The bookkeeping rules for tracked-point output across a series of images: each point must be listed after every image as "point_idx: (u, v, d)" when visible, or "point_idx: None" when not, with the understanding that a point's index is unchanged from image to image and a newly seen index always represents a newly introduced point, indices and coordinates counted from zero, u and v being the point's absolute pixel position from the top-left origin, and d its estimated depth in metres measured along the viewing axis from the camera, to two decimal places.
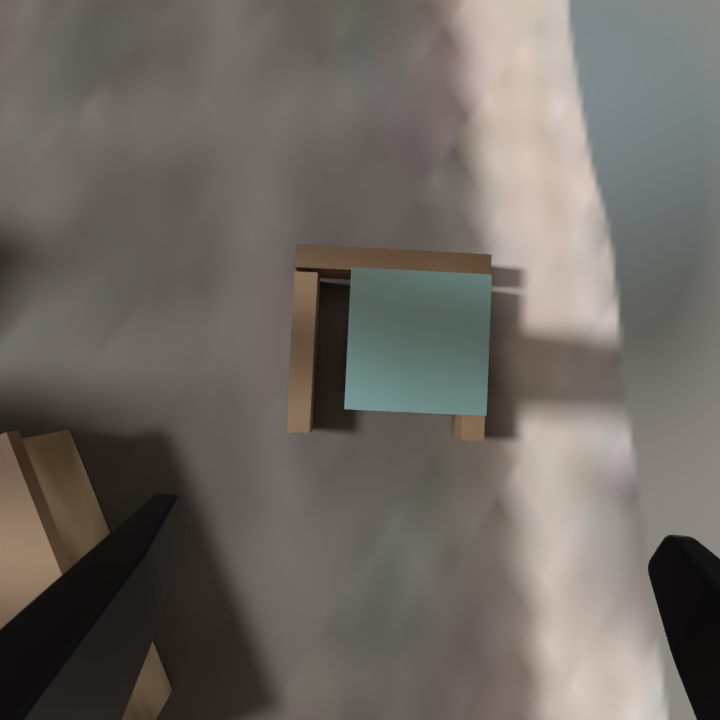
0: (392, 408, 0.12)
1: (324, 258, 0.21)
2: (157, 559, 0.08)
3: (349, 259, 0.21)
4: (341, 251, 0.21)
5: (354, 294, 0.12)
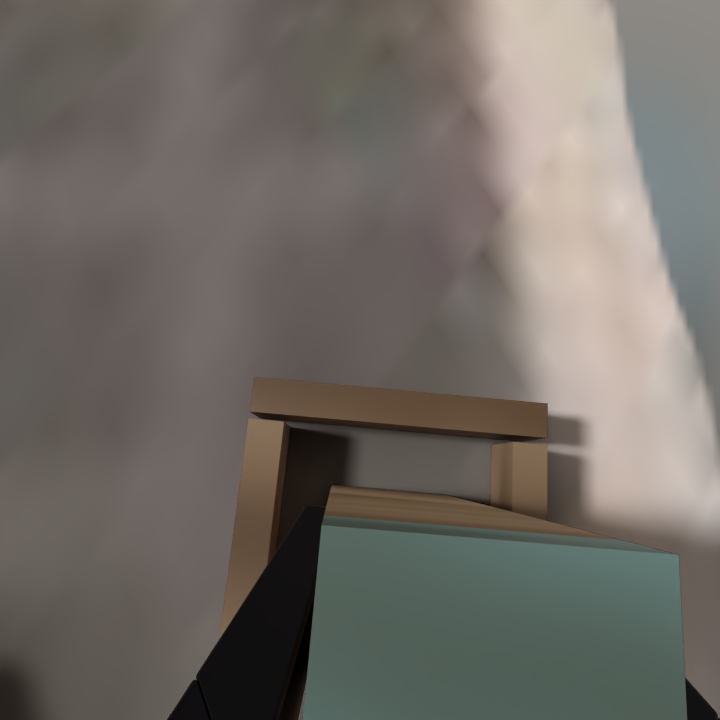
0: None
1: (295, 400, 0.14)
2: None
3: (333, 403, 0.14)
4: (322, 390, 0.14)
5: (326, 603, 0.05)
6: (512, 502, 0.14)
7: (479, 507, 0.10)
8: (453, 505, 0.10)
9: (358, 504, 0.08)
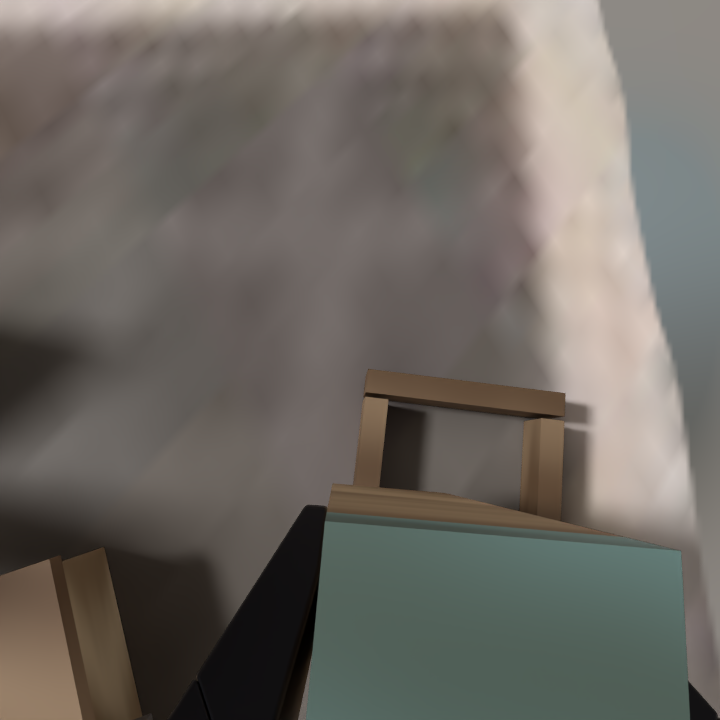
0: None
1: (396, 385, 0.21)
2: None
3: (421, 388, 0.21)
4: (413, 379, 0.21)
5: (329, 599, 0.05)
6: (539, 458, 0.21)
7: (481, 505, 0.10)
8: (455, 503, 0.10)
9: (360, 501, 0.08)
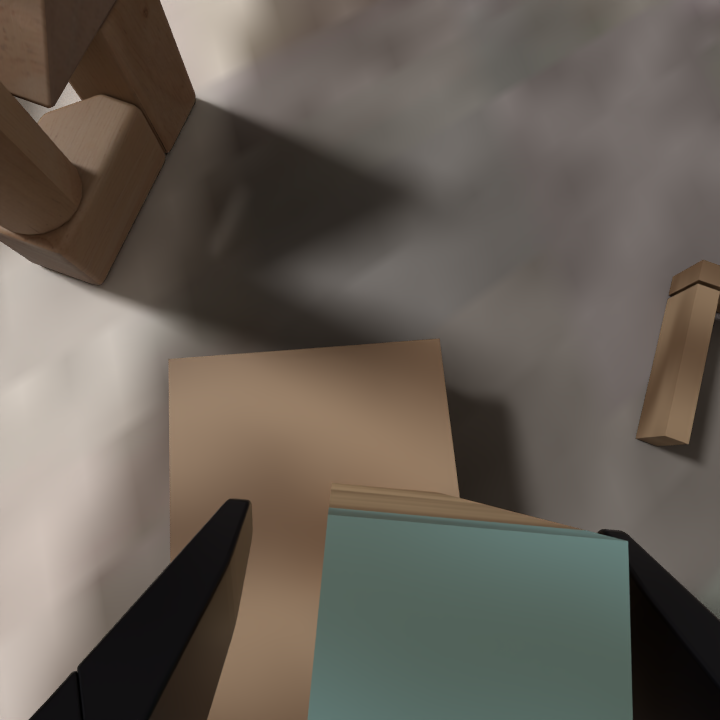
0: None
1: None
2: (236, 565, 0.08)
3: None
4: None
5: (331, 579, 0.06)
6: None
7: (468, 503, 0.11)
8: (444, 501, 0.11)
9: (357, 499, 0.09)
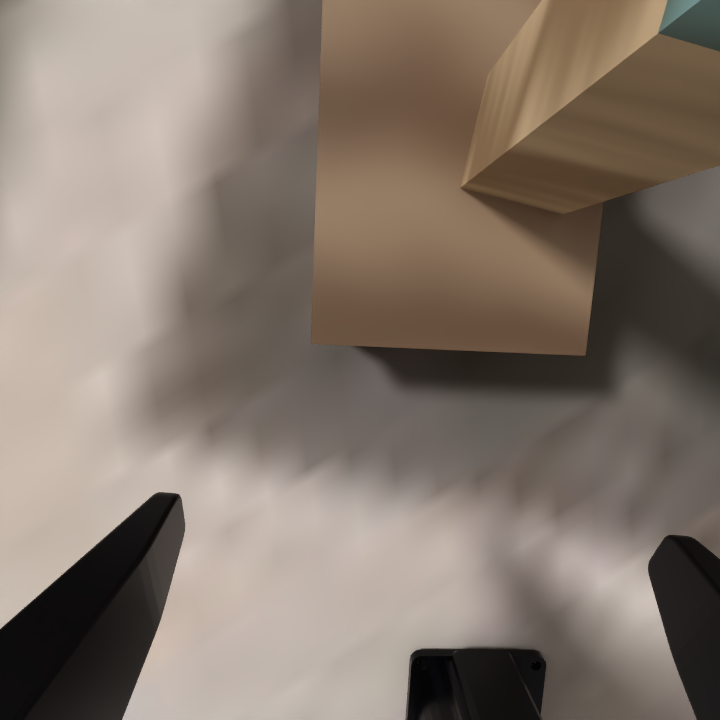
0: None
1: None
2: (157, 559, 0.08)
3: None
4: None
5: None
6: None
7: None
8: None
9: None
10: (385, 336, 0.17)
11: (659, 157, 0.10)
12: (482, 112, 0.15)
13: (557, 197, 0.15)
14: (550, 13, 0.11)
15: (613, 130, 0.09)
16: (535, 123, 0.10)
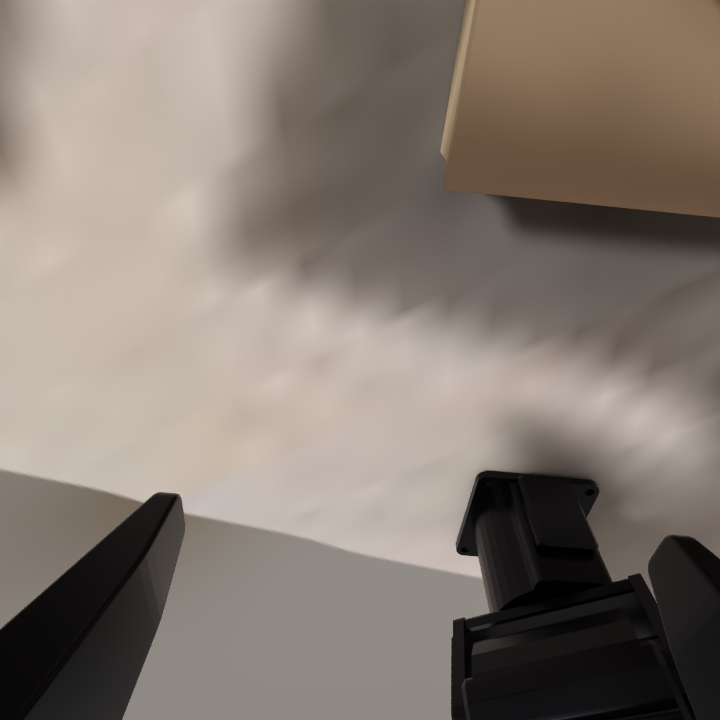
0: None
1: None
2: (157, 559, 0.08)
3: None
4: None
5: None
6: None
7: None
8: None
9: None
10: (536, 185, 0.14)
11: None
12: None
13: None
14: None
15: None
16: None
